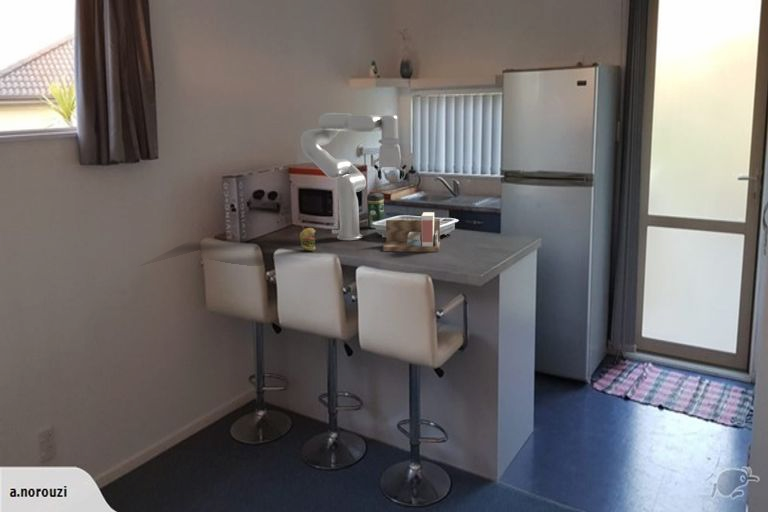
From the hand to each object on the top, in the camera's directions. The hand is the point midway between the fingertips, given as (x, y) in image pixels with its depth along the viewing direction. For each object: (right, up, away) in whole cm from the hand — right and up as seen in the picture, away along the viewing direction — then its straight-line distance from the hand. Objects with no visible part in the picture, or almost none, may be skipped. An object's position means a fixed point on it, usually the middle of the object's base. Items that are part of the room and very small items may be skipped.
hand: (390, 179), depth 305 cm
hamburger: (-38, -34, -7) cm, 51 cm away
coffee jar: (-7, -21, +44) cm, 49 cm away
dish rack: (+13, -26, +21) cm, 36 cm away
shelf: (+10, -33, -6) cm, 35 cm away
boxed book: (+17, -31, -8) cm, 36 cm away
